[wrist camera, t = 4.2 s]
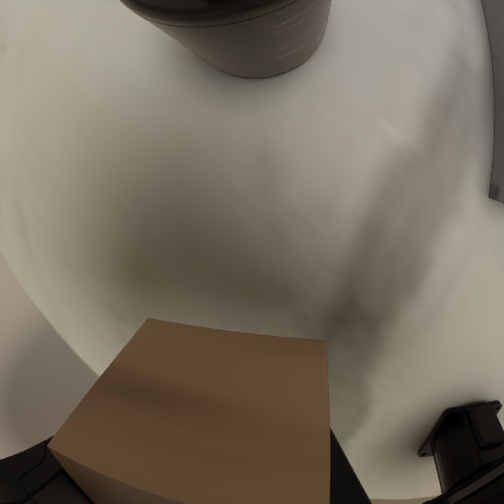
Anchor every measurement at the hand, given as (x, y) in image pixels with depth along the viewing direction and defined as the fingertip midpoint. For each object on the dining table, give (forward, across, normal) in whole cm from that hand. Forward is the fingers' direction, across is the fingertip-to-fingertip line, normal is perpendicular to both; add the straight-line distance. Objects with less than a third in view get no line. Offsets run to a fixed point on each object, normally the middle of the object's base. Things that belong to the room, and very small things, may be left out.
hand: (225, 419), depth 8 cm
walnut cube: (+1, 0, 0) cm, 1 cm away
